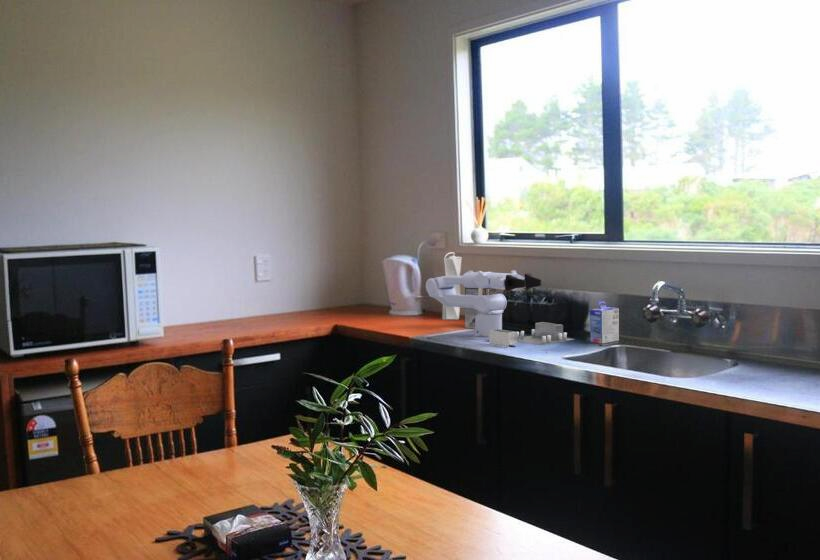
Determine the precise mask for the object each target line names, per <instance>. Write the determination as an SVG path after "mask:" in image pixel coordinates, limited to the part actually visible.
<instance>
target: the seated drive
mask: <svg viewBox="0 0 820 560" xmlns="http://www.w3.org/2000/svg"><path fill="white" fill-rule="evenodd" d="M534 327H535V328H534V329H535V337H537V338H542V336H546V339H547V335H551V340H558V333H562V339H563V333H564V325H563V324H561V323H559V324H558V323H552V322H544V321H541V322H535V325H534Z"/></svg>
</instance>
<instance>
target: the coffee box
mask: <svg viewBox="0 0 820 560" xmlns="http://www.w3.org/2000/svg"><path fill="white" fill-rule="evenodd" d="M464 290H465V291H464V295H476V296H481V295H491V288H482V289H479V288H466V287H465V286H464ZM478 313H480V311H479V310H475V308H465V309H464V328H465V329H471V330H473V329H474V330H475V318H476V316H477V314H478Z"/></svg>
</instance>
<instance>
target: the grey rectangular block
mask: <svg viewBox="0 0 820 560" xmlns="http://www.w3.org/2000/svg"><path fill="white" fill-rule="evenodd" d="M517 332H518V331H513V330H506V329H502V330H501V329H494V330H490V335H489V339H488V340H489V341H488V342H489V343H488V344H489V345H491V344H493V345H492V346H497V345H499V346H498V347H502V346H506V347H505V348H508V347H510V348H514V347H513V346H514V345H515V344H518V341H517Z"/></svg>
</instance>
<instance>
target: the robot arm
mask: <svg viewBox="0 0 820 560" xmlns="http://www.w3.org/2000/svg"><path fill="white" fill-rule="evenodd" d="M455 284H460V285H463V286H464V288H465V287H466V288H479V289H482V288H490V289H494V290H505V291H506V292H514V291H515V292H516V291H518V290H519V289H521V288H525V291H526V290H527V291H529V290H531V289H532V288H536V287H541V286H542V279H540V278H537V277H534V276H533V275H532V274H531V273H524V276H522V275H520V274H518V273H517V270H513V269H512V270H511V271H510V273H508V272H507V273H506V272H504V273H503V272H493V271H482V270H478V271H475V272H474V270H467V271H466V272H464V274H462V275H460V276H455V275H450V276H446V275H443V276H437V277H434V278H432V277H430V278H428V279H427V280H426V282H425V289H426V292H427V294H428V296H429V298H433V299H435V300H436V301H438V302H439V303H440V304H441V305H442V304H443V305H444V306H451V307H460V308H462V309H463V308H475V310H479V311H480V313H478V314H477V316H476V318H475V329H474V335H473V337H479V336H480V337H481V336H483V337H489V335H490V330H494V329H501V330H503V313H504V310H505V309H506V307H507V303H508V301H507V298H506V296H505V295H504V294H502V293H495V294H490V295H481V296H476V295H465V294H460V295H459V294H456V291H455Z"/></svg>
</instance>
